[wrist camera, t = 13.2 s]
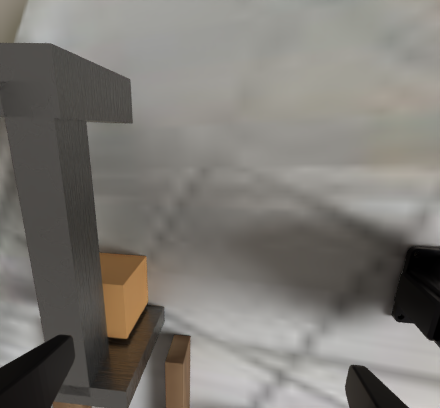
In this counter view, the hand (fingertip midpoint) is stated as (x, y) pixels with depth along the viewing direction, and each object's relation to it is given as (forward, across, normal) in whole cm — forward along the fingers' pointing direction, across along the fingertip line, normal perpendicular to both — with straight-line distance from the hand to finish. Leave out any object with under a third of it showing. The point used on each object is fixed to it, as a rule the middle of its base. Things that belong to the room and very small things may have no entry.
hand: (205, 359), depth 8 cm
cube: (+13, +9, +6) cm, 17 cm away
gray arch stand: (+13, +9, 0) cm, 16 cm away
